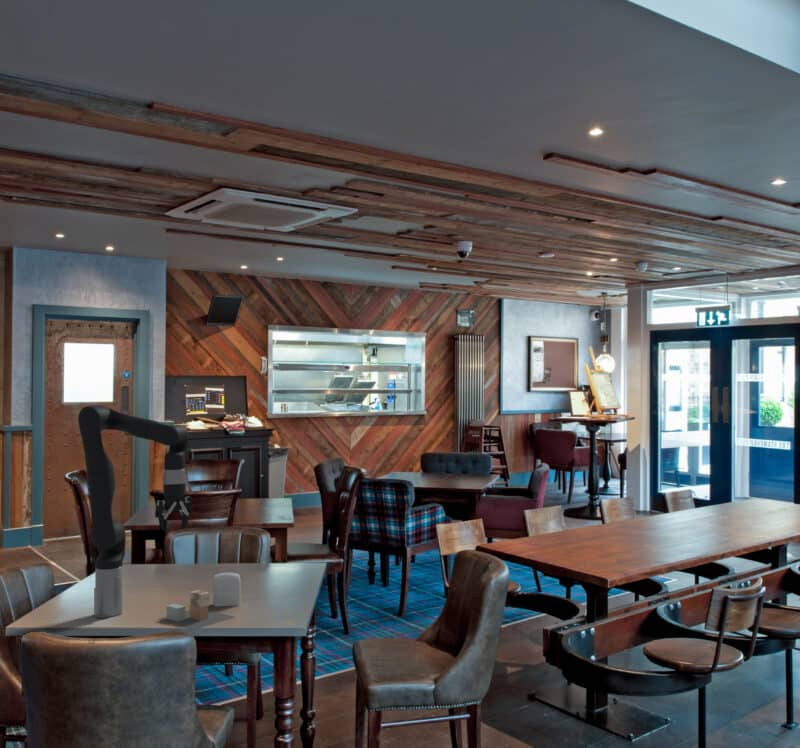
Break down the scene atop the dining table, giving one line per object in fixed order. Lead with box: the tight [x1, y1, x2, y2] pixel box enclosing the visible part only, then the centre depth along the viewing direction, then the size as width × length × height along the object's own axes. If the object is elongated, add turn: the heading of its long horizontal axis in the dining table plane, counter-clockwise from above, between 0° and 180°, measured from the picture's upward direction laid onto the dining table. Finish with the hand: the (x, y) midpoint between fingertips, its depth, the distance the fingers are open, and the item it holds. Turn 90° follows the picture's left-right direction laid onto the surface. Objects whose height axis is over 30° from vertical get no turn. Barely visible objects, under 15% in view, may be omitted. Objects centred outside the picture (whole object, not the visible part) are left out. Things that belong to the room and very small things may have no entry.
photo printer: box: [212, 572, 242, 607], centre depth 296 cm, size 10×4×12 cm, turn 95°
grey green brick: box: [166, 603, 186, 622], centre depth 277 cm, size 6×3×4 cm, turn 53°
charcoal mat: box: [157, 609, 235, 631], centre depth 278 cm, size 20×18×1 cm
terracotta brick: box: [188, 604, 209, 621], centre depth 279 cm, size 6×3×4 cm, turn 53°
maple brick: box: [189, 589, 210, 608], centre depth 278 cm, size 6×3×4 cm, turn 53°
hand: (174, 528), depth 279 cm, fingers open, 8 cm apart
